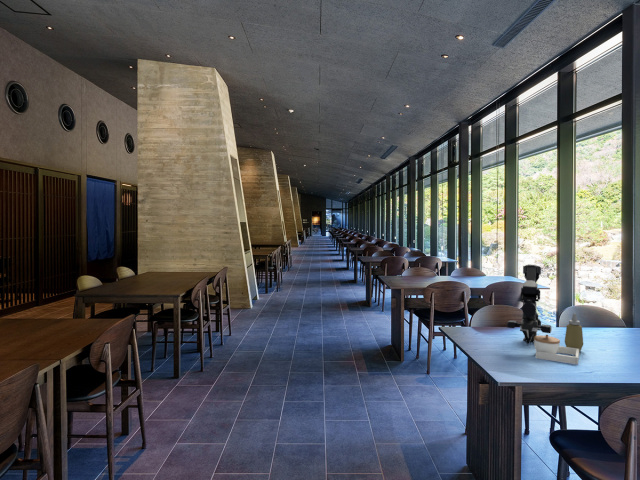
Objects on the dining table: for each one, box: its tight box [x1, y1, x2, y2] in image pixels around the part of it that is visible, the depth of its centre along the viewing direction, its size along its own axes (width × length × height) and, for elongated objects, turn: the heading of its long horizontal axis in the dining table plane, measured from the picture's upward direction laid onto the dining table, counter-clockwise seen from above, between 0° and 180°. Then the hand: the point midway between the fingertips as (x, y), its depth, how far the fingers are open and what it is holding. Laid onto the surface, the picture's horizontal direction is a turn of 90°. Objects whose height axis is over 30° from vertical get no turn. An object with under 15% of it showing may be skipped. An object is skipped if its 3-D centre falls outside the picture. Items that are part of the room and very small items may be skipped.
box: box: [535, 345, 580, 366], centre depth 199 cm, size 17×16×3 cm
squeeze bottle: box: [564, 312, 584, 352], centre depth 210 cm, size 8×8×18 cm
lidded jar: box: [533, 334, 561, 354], centre depth 202 cm, size 11×11×9 cm
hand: (528, 344), depth 206 cm, fingers closed
